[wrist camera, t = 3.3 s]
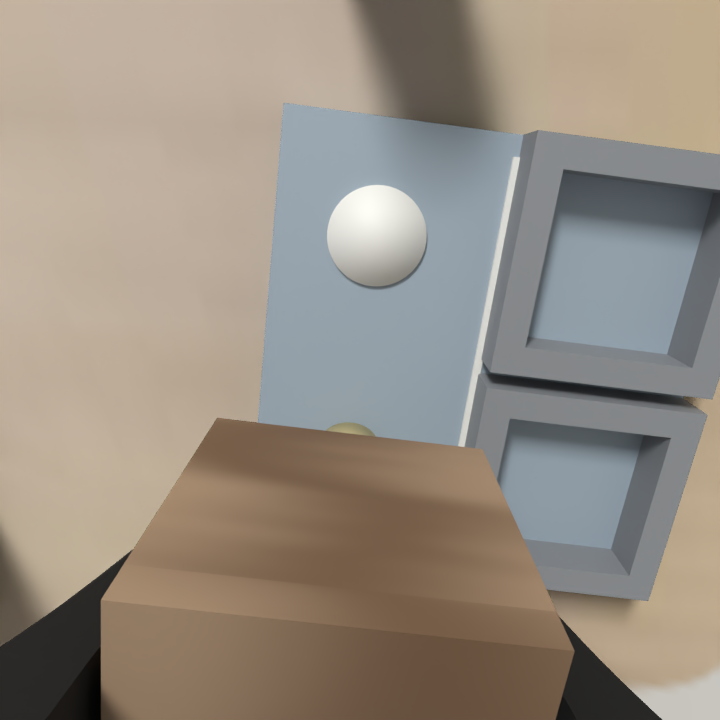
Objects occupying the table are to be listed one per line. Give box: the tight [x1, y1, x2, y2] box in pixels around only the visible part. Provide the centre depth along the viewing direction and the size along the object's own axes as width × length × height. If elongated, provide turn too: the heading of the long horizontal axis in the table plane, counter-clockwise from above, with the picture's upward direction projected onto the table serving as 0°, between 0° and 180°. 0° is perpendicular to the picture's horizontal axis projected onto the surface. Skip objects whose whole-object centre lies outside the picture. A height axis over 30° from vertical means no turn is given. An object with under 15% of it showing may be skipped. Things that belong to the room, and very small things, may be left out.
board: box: [258, 103, 720, 601], centre depth 14 cm, size 11×12×4 cm
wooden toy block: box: [101, 418, 575, 720], centre depth 9 cm, size 5×5×5 cm
